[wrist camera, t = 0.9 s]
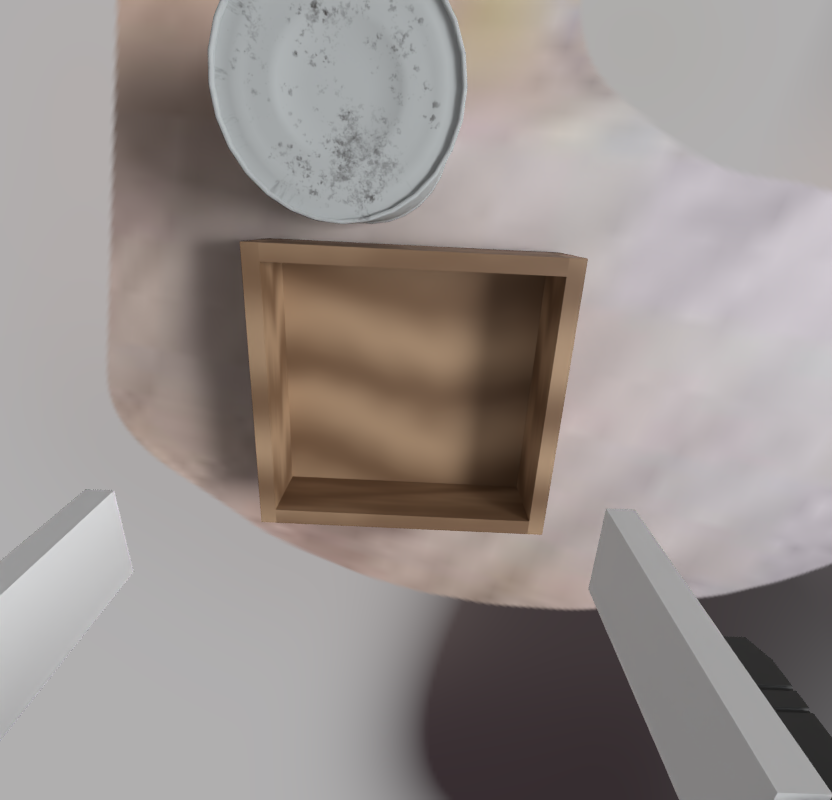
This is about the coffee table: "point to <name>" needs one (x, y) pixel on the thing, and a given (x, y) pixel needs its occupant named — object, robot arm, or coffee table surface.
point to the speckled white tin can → (339, 100)
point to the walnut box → (408, 381)
